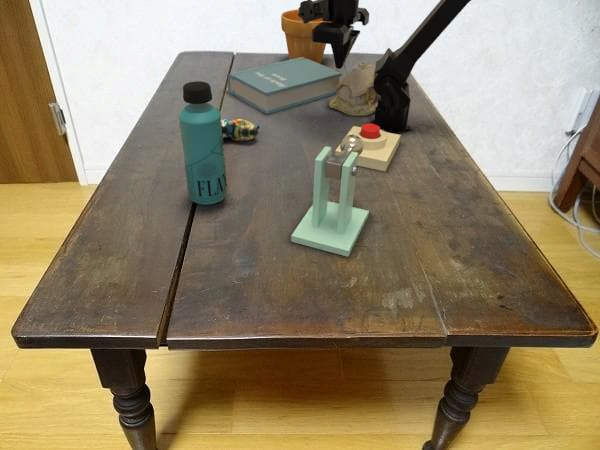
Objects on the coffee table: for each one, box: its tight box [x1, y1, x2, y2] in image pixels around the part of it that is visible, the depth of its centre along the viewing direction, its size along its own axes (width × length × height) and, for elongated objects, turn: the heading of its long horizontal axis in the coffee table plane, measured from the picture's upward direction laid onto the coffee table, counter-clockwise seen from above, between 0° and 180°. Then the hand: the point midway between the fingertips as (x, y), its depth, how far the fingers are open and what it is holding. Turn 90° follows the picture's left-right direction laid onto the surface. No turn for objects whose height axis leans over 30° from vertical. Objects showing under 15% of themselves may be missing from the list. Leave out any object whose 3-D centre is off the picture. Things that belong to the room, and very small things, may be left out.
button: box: [360, 123, 380, 139], centre depth 93 cm, size 4×4×2 cm
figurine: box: [221, 118, 260, 142], centre depth 99 cm, size 10×4×15 cm
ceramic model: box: [328, 62, 381, 117], centre depth 112 cm, size 14×11×10 cm
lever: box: [325, 135, 364, 181], centre depth 72 cm, size 11×4×4 cm, turn 158°
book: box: [227, 57, 343, 115], centre depth 119 cm, size 23×16×5 cm
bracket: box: [290, 145, 370, 258], centre depth 71 cm, size 11×9×13 cm
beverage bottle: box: [177, 80, 228, 206], centre depth 74 cm, size 6×7×20 cm
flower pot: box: [280, 9, 331, 65], centre depth 135 cm, size 14×14×13 cm
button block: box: [334, 125, 402, 172], centre depth 95 cm, size 12×10×4 cm
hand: (339, 68), depth 100 cm, fingers closed
